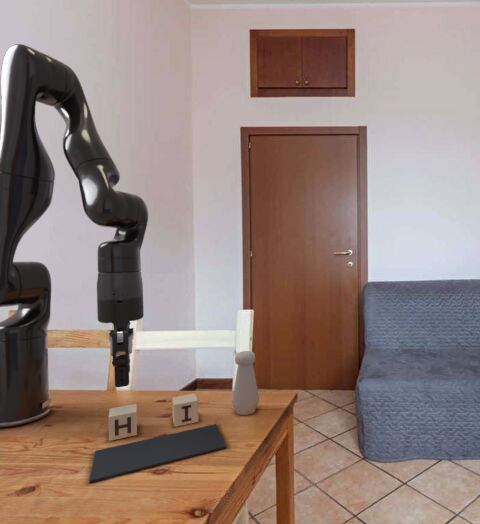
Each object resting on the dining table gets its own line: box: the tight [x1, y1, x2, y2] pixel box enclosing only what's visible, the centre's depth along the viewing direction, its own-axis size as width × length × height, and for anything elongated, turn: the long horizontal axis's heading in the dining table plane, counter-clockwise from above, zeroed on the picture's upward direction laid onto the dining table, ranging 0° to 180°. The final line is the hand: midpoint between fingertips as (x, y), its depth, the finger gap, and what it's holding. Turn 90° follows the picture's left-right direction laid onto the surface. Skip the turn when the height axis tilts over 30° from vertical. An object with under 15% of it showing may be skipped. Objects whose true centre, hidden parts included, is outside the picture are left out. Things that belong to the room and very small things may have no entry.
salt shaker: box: [231, 350, 260, 416], centre depth 82 cm, size 6×6×13 cm
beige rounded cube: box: [108, 403, 138, 442], centre depth 72 cm, size 4×5×4 cm
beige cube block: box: [171, 393, 199, 428], centre depth 77 cm, size 4×5×4 cm
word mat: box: [88, 423, 227, 484], centre depth 65 cm, size 20×10×1 cm, turn 120°
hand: (123, 379), depth 72 cm, fingers open, 8 cm apart
